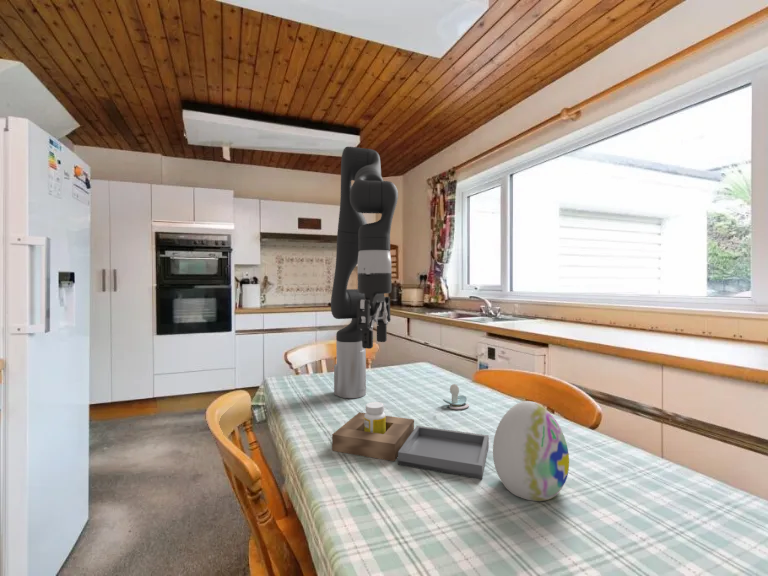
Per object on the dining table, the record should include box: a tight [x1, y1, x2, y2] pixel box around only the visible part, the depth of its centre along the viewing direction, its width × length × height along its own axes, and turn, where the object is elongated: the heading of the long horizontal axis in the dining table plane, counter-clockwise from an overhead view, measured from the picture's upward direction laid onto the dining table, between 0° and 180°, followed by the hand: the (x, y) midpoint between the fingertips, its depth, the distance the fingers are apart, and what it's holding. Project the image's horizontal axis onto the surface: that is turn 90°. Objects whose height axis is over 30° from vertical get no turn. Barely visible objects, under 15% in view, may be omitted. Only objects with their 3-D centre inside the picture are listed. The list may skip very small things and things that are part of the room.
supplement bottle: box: [364, 401, 387, 434], centre depth 83 cm, size 5×5×8 cm
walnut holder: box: [331, 411, 415, 462], centre depth 83 cm, size 14×14×4 cm
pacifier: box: [442, 383, 470, 411], centre depth 106 cm, size 7×6×6 cm
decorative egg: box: [492, 400, 570, 502], centre depth 65 cm, size 12×12×15 cm
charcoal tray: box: [397, 425, 490, 480], centre depth 77 cm, size 16×14×2 cm
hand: (374, 344), depth 83 cm, fingers open, 8 cm apart
